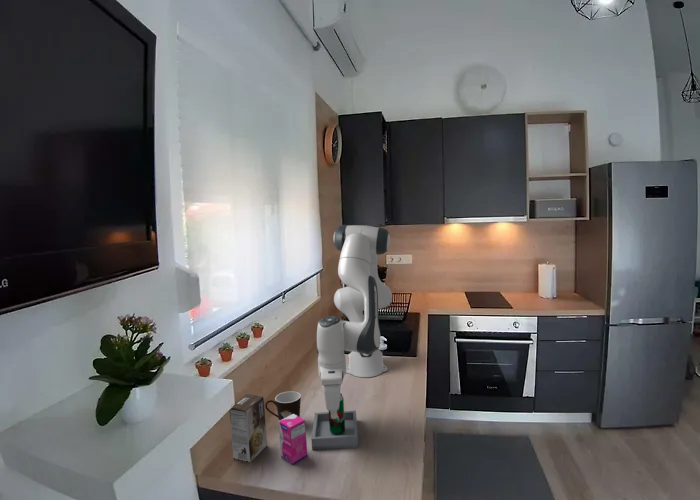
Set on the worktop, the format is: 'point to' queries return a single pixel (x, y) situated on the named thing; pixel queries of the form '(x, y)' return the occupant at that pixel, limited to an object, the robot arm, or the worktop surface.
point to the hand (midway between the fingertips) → (334, 410)
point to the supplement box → (293, 438)
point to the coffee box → (248, 427)
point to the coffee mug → (286, 404)
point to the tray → (332, 441)
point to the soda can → (338, 419)
